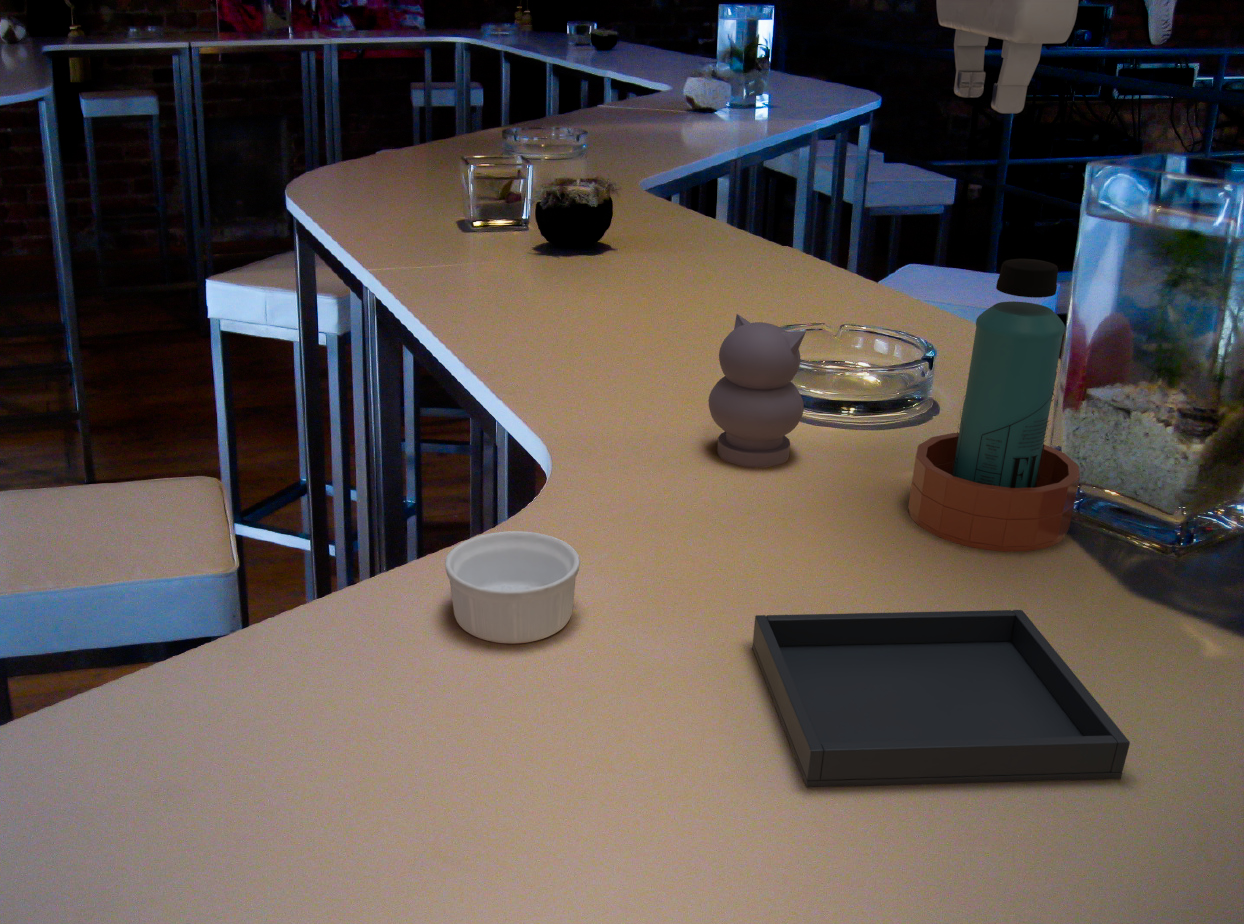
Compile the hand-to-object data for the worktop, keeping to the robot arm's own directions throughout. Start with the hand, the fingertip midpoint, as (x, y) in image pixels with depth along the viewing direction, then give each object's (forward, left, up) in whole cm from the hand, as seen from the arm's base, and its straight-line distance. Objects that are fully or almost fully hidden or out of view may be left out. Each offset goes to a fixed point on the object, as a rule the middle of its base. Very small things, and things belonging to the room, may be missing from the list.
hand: (985, 103), depth 86 cm
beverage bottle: (-4, +4, -31) cm, 31 cm away
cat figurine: (+12, -10, -31) cm, 35 cm away
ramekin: (+34, +18, -31) cm, 50 cm away
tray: (+10, +30, -31) cm, 44 cm away
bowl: (-4, +4, -31) cm, 31 cm away
